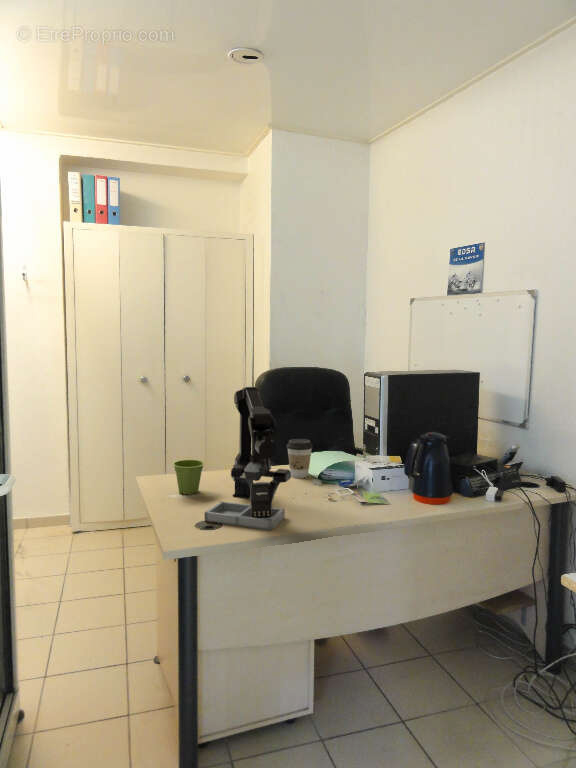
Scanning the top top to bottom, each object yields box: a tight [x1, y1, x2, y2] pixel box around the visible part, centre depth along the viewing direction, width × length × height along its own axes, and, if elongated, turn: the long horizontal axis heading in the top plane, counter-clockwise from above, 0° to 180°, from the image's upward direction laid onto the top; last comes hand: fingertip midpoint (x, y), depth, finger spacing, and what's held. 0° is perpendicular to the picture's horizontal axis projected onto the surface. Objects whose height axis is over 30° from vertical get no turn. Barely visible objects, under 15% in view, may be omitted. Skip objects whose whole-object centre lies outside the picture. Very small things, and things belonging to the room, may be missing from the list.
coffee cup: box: [286, 438, 314, 479], centre depth 229 cm, size 11×11×15 cm
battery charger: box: [249, 481, 273, 518], centre depth 173 cm, size 7×4×11 cm, turn 96°
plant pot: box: [172, 459, 205, 495], centre depth 204 cm, size 12×12×11 cm
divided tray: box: [204, 501, 285, 532], centre depth 176 cm, size 23×12×3 cm, turn 71°
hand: (260, 499), depth 173 cm, fingers closed on battery charger, 7 cm apart
